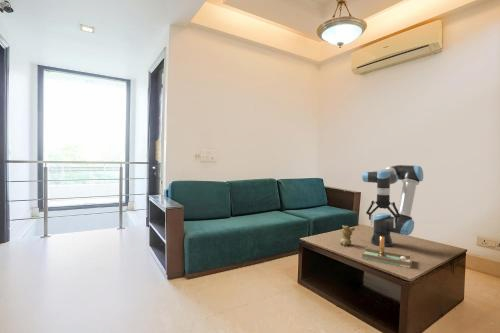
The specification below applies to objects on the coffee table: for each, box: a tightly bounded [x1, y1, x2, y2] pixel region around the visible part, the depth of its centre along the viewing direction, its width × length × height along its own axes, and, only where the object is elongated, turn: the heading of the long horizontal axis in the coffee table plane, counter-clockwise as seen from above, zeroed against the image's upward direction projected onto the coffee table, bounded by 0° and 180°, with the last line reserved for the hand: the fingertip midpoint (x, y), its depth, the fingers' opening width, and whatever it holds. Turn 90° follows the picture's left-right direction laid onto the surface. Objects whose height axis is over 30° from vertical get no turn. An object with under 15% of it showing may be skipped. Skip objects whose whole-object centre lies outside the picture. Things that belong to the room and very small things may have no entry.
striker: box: [378, 236, 388, 257], centre depth 176 cm, size 6×5×13 cm
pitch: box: [361, 247, 413, 269], centre depth 174 cm, size 13×28×4 cm, turn 57°
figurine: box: [339, 224, 356, 247], centre depth 203 cm, size 10×9×15 cm
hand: (382, 226), depth 176 cm, fingers open, 13 cm apart
